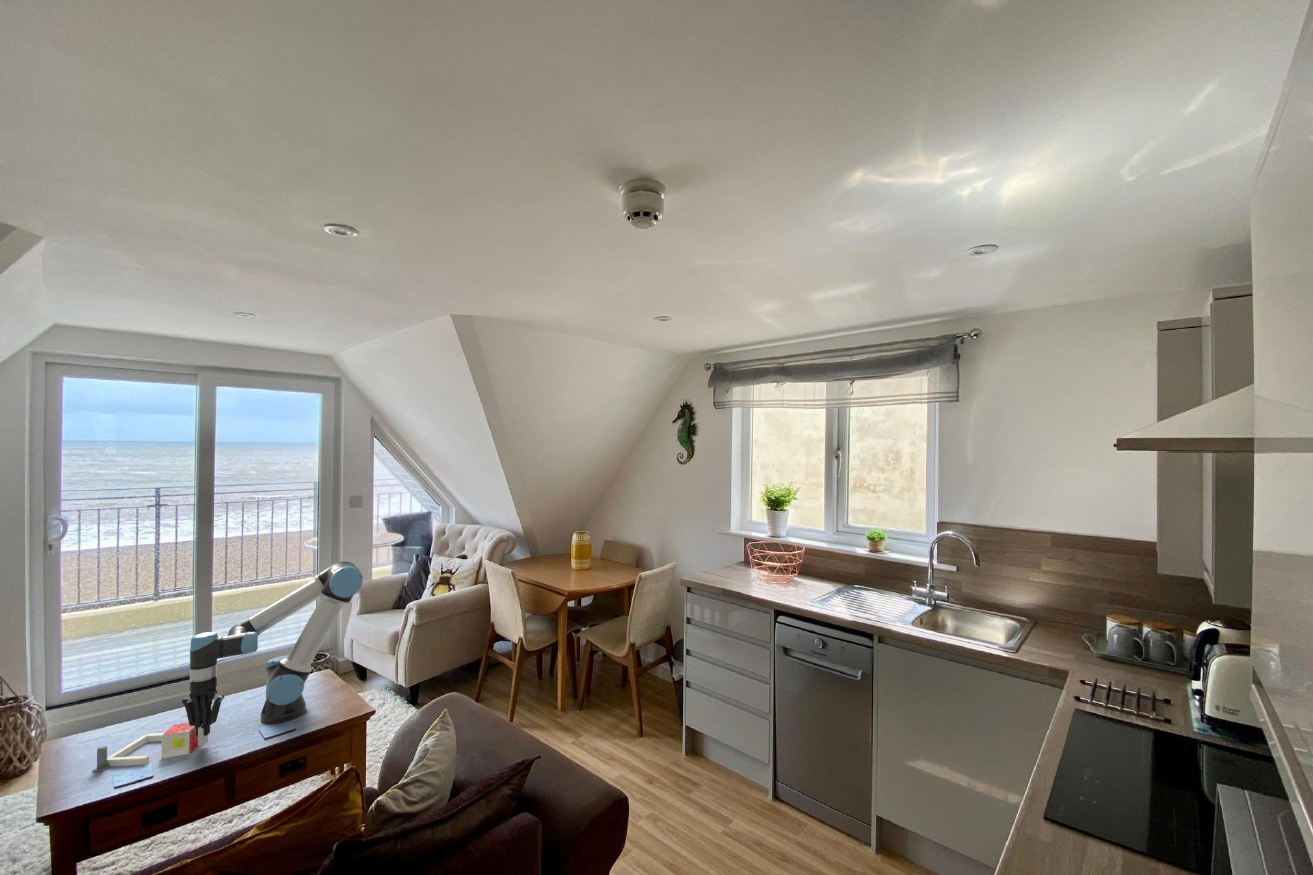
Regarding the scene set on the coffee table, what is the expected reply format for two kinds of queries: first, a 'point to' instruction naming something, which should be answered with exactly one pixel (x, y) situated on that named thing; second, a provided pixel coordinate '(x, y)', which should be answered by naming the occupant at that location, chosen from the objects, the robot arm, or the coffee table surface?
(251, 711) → the coffee table surface
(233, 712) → the coffee table surface
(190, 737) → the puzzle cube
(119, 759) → the keeper bracket
